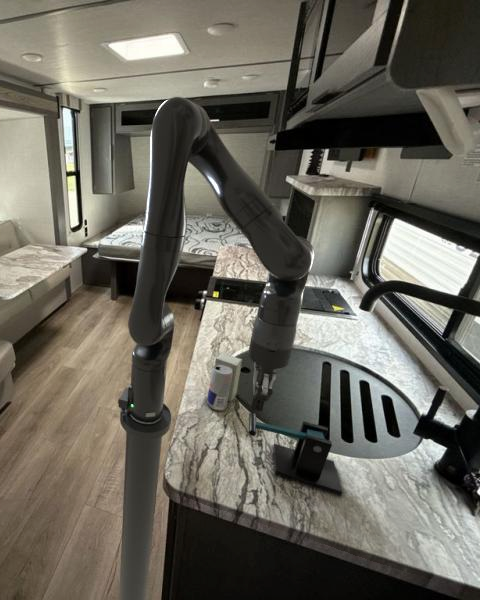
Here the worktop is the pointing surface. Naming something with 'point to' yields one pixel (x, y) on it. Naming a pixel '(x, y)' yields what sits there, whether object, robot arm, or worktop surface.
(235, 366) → the cosmetic box
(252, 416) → the black and teal hammer
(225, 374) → the energy drink
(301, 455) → the black lever stand
